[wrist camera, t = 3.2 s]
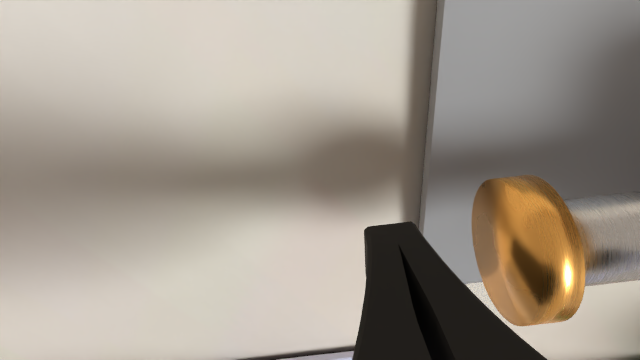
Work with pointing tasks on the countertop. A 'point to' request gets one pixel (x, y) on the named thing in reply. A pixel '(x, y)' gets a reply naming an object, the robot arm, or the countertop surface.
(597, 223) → the shaft
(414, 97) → the countertop surface
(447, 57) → the base plate
